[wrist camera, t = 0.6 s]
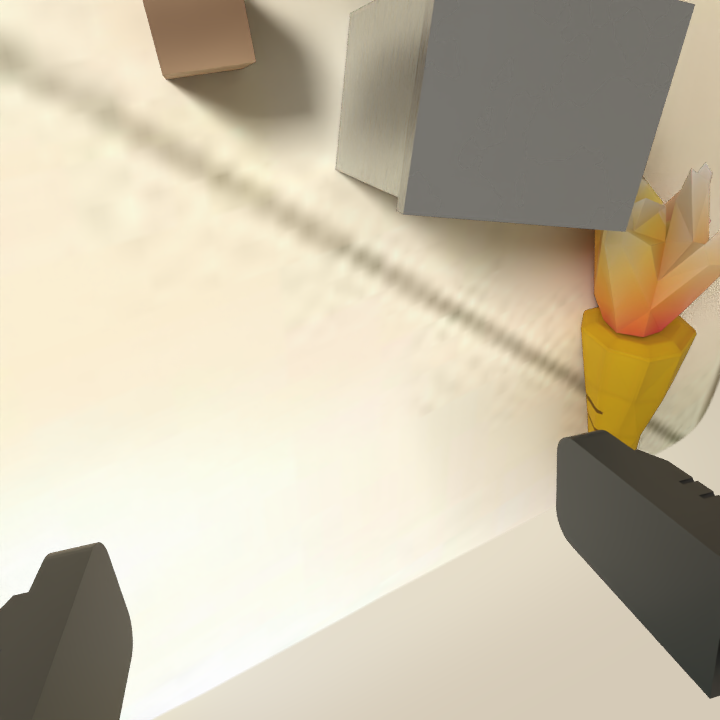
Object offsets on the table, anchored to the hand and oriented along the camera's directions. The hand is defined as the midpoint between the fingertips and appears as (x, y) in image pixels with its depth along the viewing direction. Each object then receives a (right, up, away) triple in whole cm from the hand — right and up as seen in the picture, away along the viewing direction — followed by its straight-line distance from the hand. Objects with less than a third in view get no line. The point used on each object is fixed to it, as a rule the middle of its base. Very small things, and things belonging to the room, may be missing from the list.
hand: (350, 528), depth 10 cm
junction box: (+4, +18, +23) cm, 29 cm away
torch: (+19, +6, +34) cm, 39 cm away
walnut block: (-8, +20, +18) cm, 28 cm away
